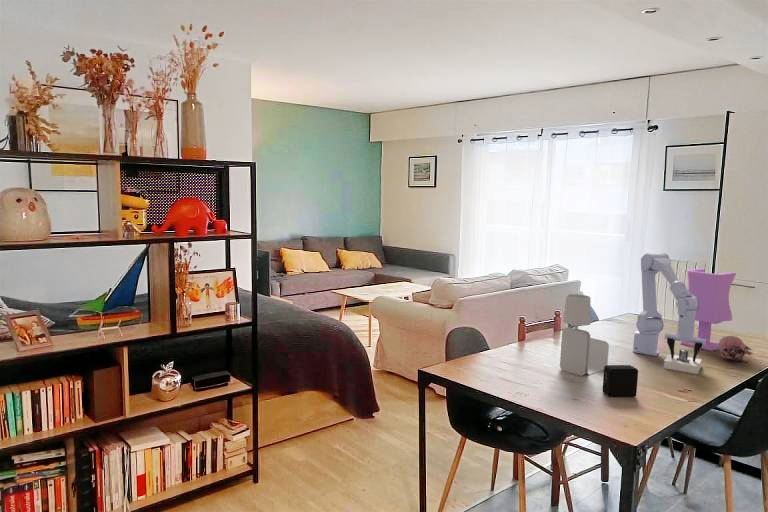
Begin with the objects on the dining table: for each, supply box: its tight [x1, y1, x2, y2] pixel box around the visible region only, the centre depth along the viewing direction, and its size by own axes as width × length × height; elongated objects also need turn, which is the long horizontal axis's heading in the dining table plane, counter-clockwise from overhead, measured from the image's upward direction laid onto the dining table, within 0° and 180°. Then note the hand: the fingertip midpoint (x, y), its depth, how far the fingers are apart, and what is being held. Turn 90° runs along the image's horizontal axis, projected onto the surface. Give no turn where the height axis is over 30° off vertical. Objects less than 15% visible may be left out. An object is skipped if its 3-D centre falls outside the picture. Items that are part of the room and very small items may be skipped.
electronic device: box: [602, 364, 639, 398], centre depth 185 cm, size 4×10×10 cm, turn 95°
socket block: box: [663, 353, 702, 375], centre depth 219 cm, size 12×12×3 cm
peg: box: [678, 348, 689, 362], centre depth 219 cm, size 3×3×7 cm
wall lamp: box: [559, 293, 610, 377], centre depth 211 cm, size 10×21×30 cm, turn 131°
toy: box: [717, 335, 754, 363], centre depth 228 cm, size 12×11×15 cm
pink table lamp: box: [680, 268, 737, 352], centre depth 251 cm, size 16×16×35 cm
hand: (683, 359), depth 219 cm, fingers open, 7 cm apart
